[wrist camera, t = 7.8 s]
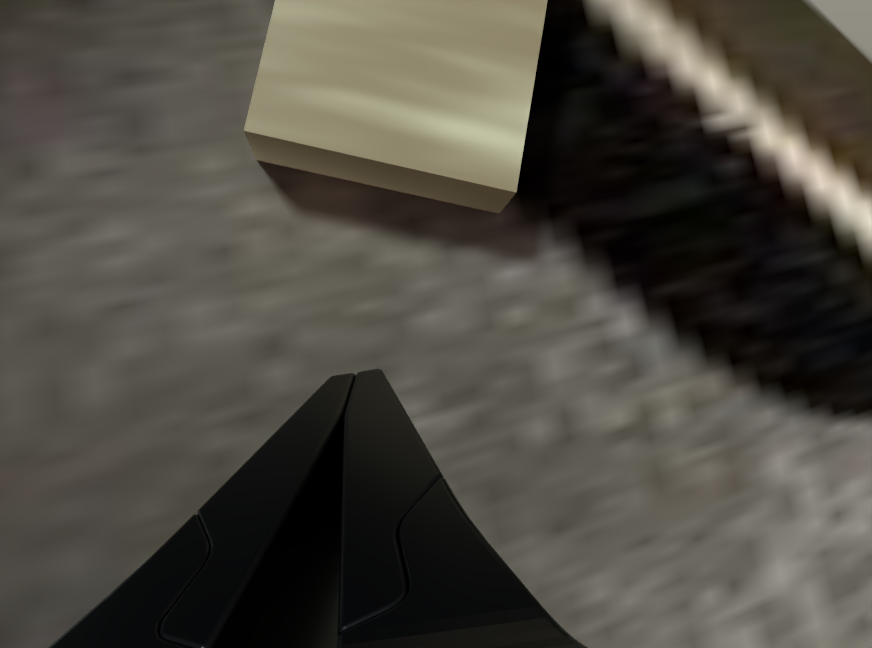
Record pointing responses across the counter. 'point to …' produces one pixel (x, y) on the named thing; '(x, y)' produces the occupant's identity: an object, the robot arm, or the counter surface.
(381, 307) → the counter surface
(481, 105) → the birch tile
